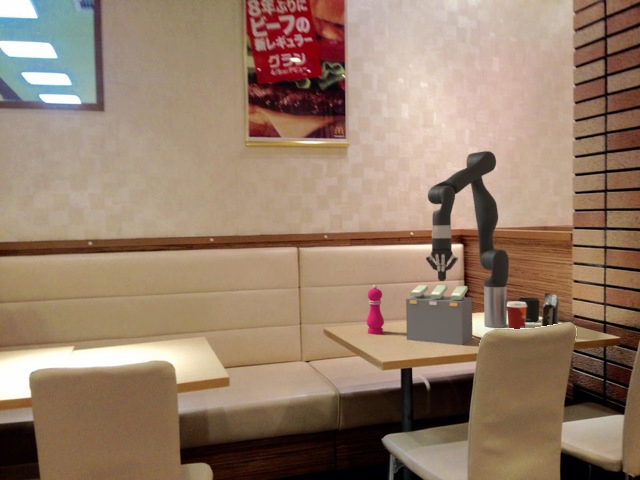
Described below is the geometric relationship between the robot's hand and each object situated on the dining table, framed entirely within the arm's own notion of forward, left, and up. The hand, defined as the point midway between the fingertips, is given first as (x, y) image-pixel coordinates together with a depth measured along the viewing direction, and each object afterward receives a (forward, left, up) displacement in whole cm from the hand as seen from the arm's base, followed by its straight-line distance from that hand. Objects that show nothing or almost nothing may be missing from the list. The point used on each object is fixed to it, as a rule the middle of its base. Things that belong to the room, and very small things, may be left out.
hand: (441, 280), depth 227 cm
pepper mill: (+3, -28, -23) cm, 36 cm away
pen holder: (-51, +22, -23) cm, 60 cm away
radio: (-28, +36, -23) cm, 51 cm away
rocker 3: (+4, +8, -4) cm, 10 cm away
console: (+4, 0, -22) cm, 23 cm away
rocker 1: (+4, -8, -4) cm, 10 cm away
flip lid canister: (-11, +26, -23) cm, 36 cm away
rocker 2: (+4, 0, -4) cm, 5 cm away
